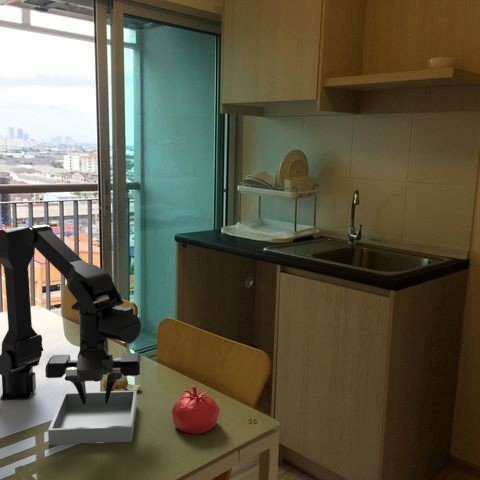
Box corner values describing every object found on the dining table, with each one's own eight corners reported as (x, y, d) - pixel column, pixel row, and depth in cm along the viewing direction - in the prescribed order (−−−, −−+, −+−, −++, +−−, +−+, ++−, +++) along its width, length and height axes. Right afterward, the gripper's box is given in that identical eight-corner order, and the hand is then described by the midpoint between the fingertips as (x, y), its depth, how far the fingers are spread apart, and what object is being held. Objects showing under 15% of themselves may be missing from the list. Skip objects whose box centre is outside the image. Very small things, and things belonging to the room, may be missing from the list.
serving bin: (48, 449, 105) (48, 430, 105) (64, 409, 121) (63, 392, 120) (132, 445, 107) (131, 426, 107) (136, 406, 123) (136, 390, 122)
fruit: (117, 400, 125) (116, 385, 124) (94, 392, 129) (93, 377, 129) (143, 387, 131) (143, 373, 131) (120, 380, 136) (119, 366, 136)
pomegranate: (201, 445, 108) (201, 402, 107) (162, 430, 113) (162, 389, 112) (228, 424, 116) (229, 384, 115) (191, 411, 122) (191, 372, 120)
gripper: (37, 348, 101) (40, 424, 104) (137, 346, 104) (138, 421, 107) (50, 328, 112) (52, 398, 115) (141, 326, 115) (141, 395, 117)
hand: (95, 403), depth 113 cm, fingers open, 4 cm apart
